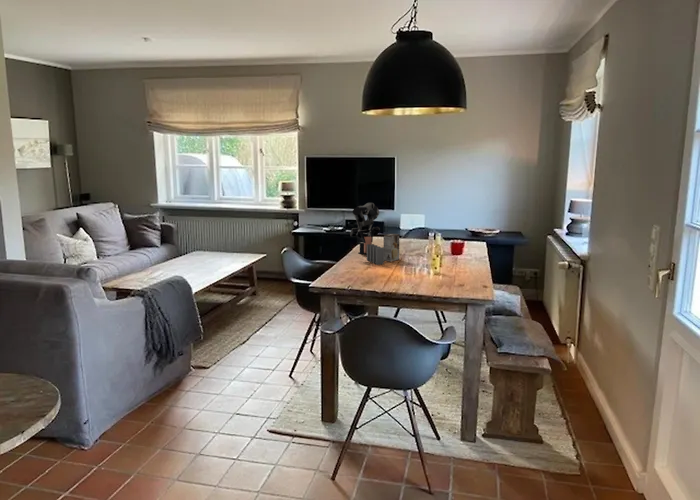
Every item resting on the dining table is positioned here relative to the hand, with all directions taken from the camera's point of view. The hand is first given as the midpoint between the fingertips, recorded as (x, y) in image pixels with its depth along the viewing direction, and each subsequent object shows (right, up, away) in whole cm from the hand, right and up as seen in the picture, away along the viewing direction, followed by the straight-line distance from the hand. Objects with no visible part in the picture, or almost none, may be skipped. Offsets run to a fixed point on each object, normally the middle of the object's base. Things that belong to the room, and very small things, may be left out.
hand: (368, 242), depth 339 cm
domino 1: (+1, -11, -1) cm, 11 cm away
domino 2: (+3, -12, -5) cm, 13 cm away
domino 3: (+4, -13, -9) cm, 16 cm away
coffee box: (+14, -11, 0) cm, 18 cm away
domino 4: (+6, -13, -13) cm, 20 cm away
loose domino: (-1, -6, +2) cm, 7 cm away
